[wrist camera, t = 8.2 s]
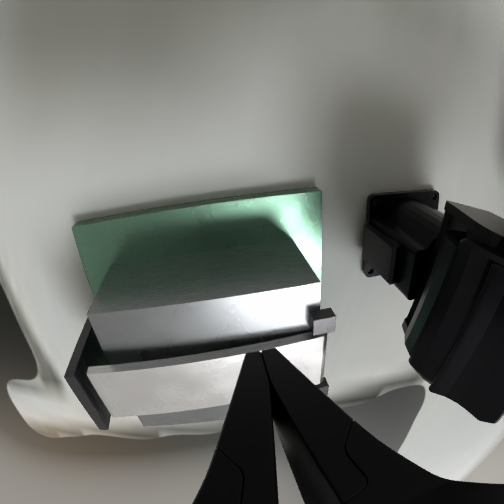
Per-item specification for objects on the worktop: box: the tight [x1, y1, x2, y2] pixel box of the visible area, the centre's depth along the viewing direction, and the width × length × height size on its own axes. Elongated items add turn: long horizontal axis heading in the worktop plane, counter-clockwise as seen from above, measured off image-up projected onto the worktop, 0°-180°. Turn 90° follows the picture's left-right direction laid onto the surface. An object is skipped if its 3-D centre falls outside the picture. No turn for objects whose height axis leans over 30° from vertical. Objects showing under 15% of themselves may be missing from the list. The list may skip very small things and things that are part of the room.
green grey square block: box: [64, 187, 336, 430], centre depth 19 cm, size 16×16×8 cm
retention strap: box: [87, 332, 327, 417], centre depth 17 cm, size 13×4×1 cm, turn 95°
